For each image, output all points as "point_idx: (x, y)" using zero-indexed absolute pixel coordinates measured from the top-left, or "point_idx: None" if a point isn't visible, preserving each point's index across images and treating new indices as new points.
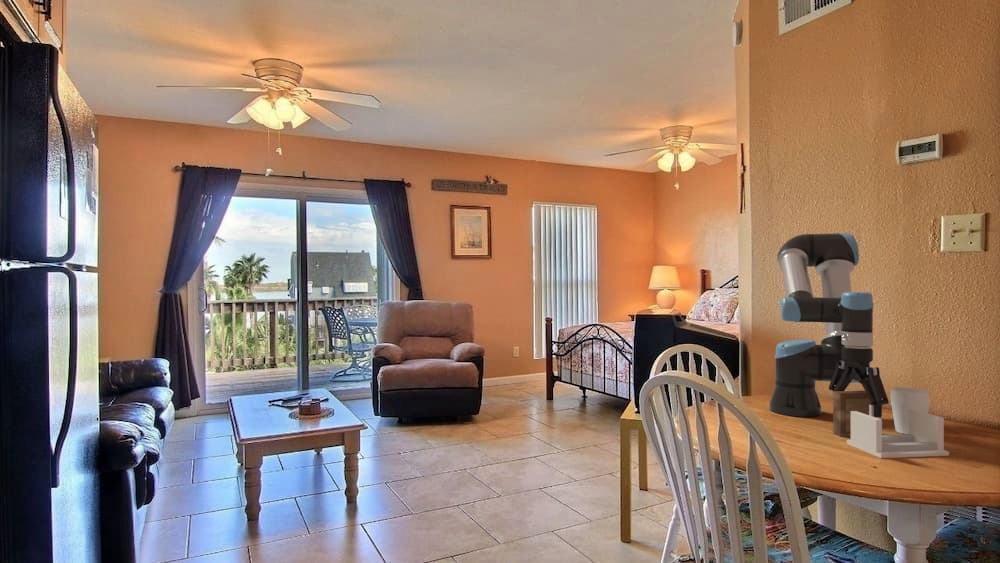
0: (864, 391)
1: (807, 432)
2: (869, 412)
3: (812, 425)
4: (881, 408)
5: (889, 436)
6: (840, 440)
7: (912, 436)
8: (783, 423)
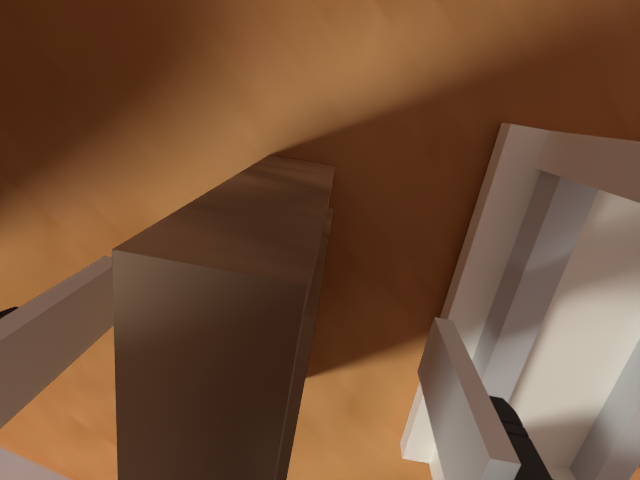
0: (178, 434)
1: None
2: (442, 461)
3: (91, 345)
4: (542, 467)
5: (531, 339)
6: (349, 425)
7: (594, 197)
8: (47, 431)
